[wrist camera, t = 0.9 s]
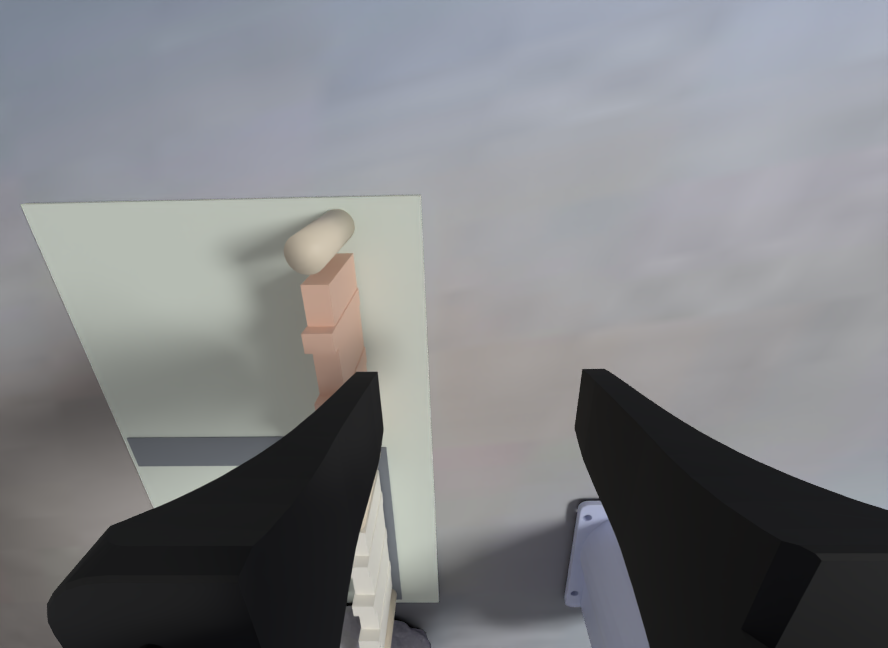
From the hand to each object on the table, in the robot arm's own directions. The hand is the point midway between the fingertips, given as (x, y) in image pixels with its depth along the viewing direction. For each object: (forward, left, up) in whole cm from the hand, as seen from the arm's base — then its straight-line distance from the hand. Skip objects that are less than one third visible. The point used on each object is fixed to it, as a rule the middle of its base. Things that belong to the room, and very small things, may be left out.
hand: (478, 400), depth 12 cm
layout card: (-9, +10, -8) cm, 16 cm away
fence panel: (-2, +5, -8) cm, 10 cm away
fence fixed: (-15, +5, -8) cm, 18 cm away
